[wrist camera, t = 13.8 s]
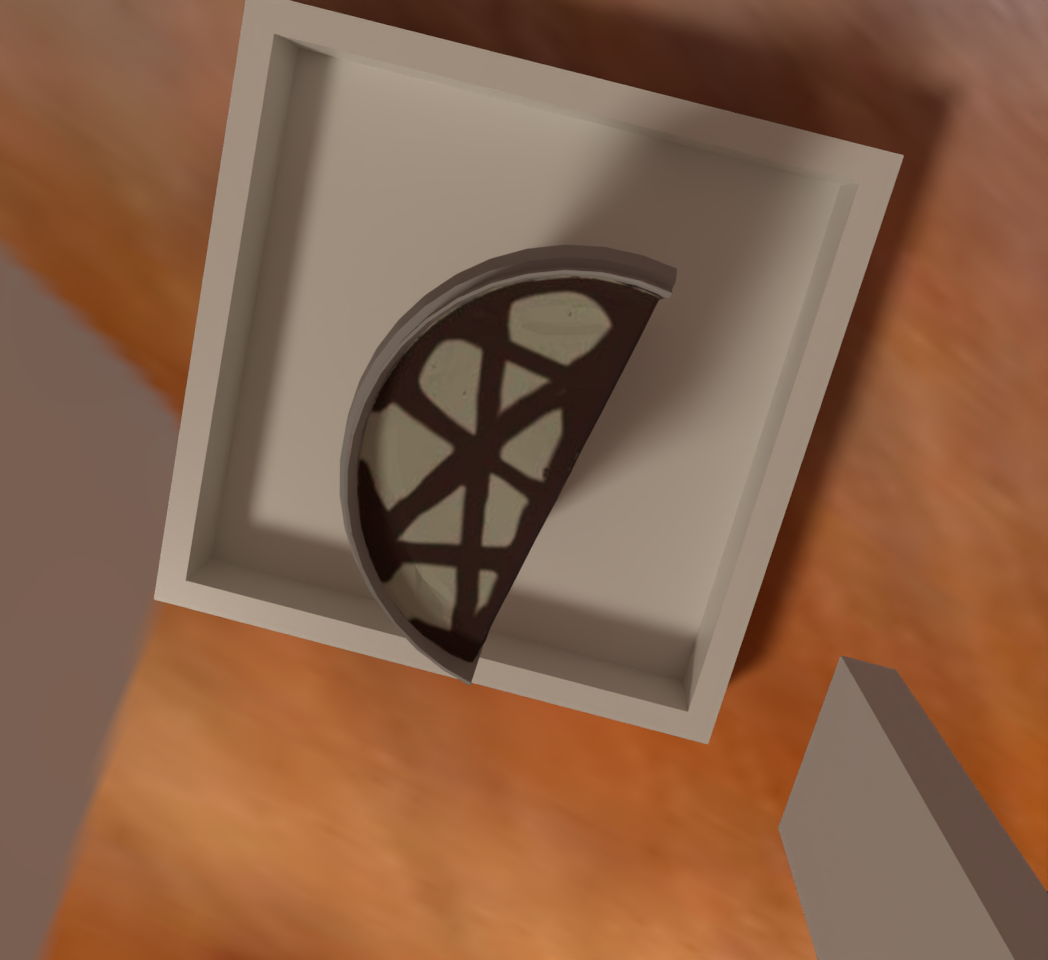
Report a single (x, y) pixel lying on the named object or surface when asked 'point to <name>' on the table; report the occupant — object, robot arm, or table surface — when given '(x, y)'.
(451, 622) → the grey brown half-round piece
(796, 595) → the table surface
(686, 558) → the tray
